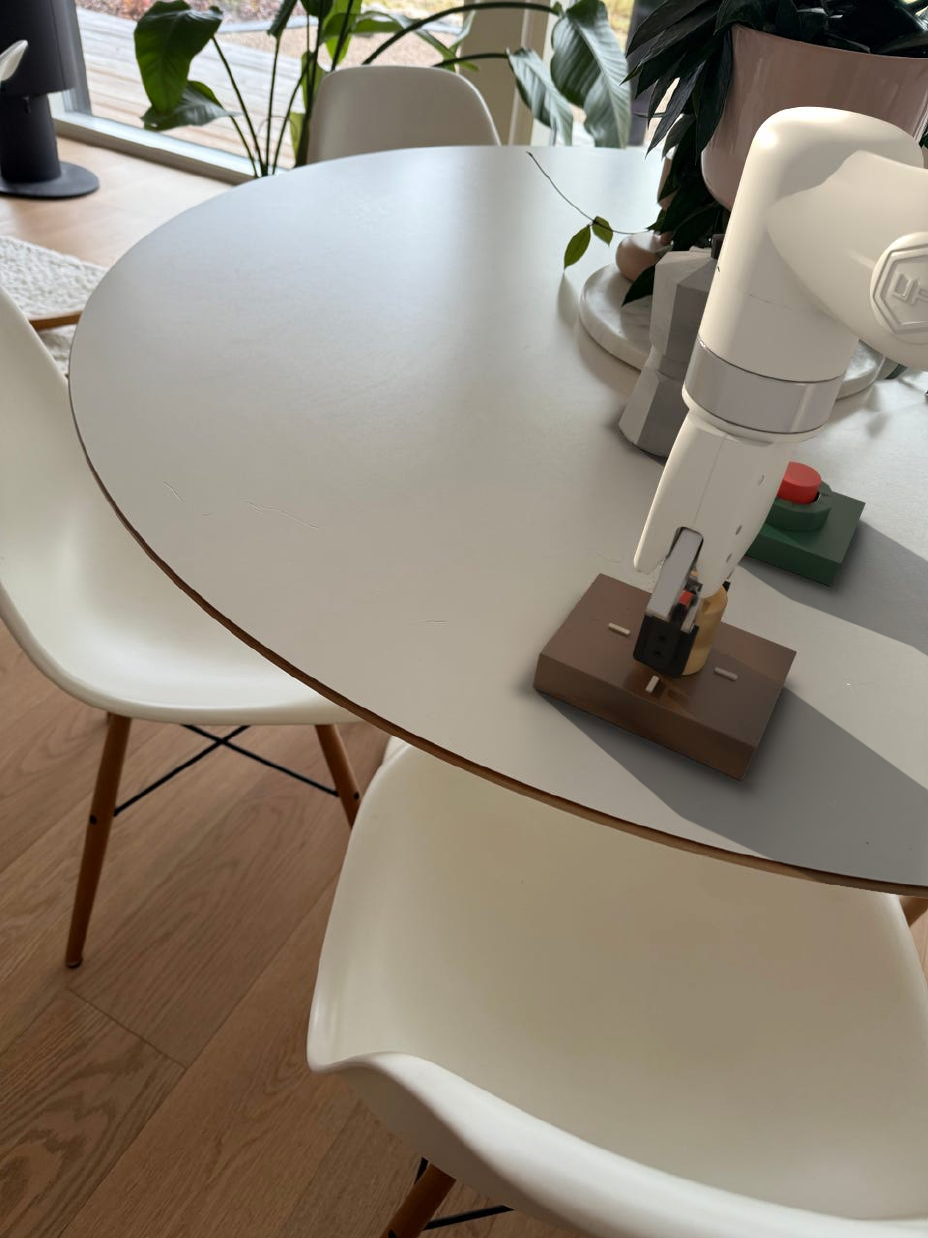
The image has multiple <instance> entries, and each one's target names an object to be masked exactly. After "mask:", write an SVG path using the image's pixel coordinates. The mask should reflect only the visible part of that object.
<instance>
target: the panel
mask: <svg viewBox="0 0 928 1238" xmlns="http://www.w3.org/2000/svg"><path fill="white" fill-rule="evenodd" d="M651 595H652V592H650V591H647V590H644V589H642V588H640V587H637V586H634V585H632V584H629V583H627V582H624V581H622V580H620V579H617V578H615V577H612V576H609V575H607V574H604V573H602V572H598V573H597V575H596V576H595V578H593V580H592V581H591V583H590V584H589V585H588V587H587V588H586V589H585V591H584V592H583V593H582V595H581V596H580V597H579V599H577V602H576V603H575V605H573V607H572V609H571V610H570V611H569V612H568V614H567V615H566V617H565V618H564V619H563V621H562V622H561V623H560V624H559V626H558V627H557V629H556V630H555V631H554V633H553V634H552V635H551V637H550V638H549V639H548V641H547V642H546V644H545V645H544V646H543V648H542V649H541V650H540V652H539V653H538V657H537V663H536V666H535V671H534V676H533V681H532V685H531V687H532V688H533V689H535V690H538V691H539V692H542V693H544V694H547V695H549V696H551V697H553V698H556V699H558V700H561V701H562V702H564V703H567V704H569V705H572V706H573V707H576V708H577V709H580V710H582V711H584V712H587V713H589V714H591V715H593V716H596V717H598V718H600V719H603V720H605V721H607V722H608V723H611V724H614V725H616V726H618V727H621V728H623V729H625V730H626V731H630V732H631V733H633V734H636V735H639V736H640V737H643V738H644V739H647V740H650V741H652V742H654V743H656V744H659V745H661V746H663V747H666V748H668V749H669V750H671V751H675V752H676V753H679V754H681V755H683V756H686V757H687V758H689V759H692V760H694V761H696V762H698V763H701V764H703V765H706V766H707V767H710V768H713V769H715V770H717V771H719V772H721V773H724V774H726V775H728V776H730V777H732V778H735V779H736V780H739V781H743V780H744V778H745V776H746V774H747V772H748V769H749V767H750V765H751V762H752V760H753V758H754V756H755V754H756V751H757V749H758V747H759V744H760V742H761V740H762V737H763V735H764V732H765V730H766V728H767V725H768V723H769V721H770V718H771V716H772V714H773V711H774V708H775V706H776V703H777V701H778V698H779V696H780V694H781V692H782V689H783V686H784V684H785V682H786V680H787V678H788V675H789V672H790V670H791V667H792V665H793V663H794V660H795V658H796V655H797V651H796V650H794V649H792V648H789V647H787V646H784V645H783V644H780V643H776V642H774V641H771V640H769V639H767V638H764V637H762V636H759V635H757V634H754V633H752V632H749V631H747V630H745V629H742V628H740V627H737V626H735V625H731V624H729V623H727V622H724V621H722V620H721V622H720V624H719V627H718V630H717V633H716V635H715V638H714V641H713V643H712V646H711V649H710V652H709V654H708V657H707V660H706V662H705V664H704V666H703V667H702V668H701V669H700V670H699V671H697V672H695V673H693V674H689V675H681V677H680V678H678V679H675V678H672V677H670V676H668V675H666V674H664V673H662V672H659V671H657V670H655V669H653V668H651V667H649V666H647V665H645V664H643V663H641V662H638V661H637V660H635V659H634V657H633V651H634V648H635V645H636V642H637V638H638V635H639V632H640V628H641V625H642V622H643V618H644V615H645V612H646V608H647V605H648V603H649V601H650V598H651Z"/></svg>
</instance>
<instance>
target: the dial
mask: <svg viewBox="0 0 928 1238" xmlns="http://www.w3.org/2000/svg"><path fill="white" fill-rule="evenodd" d="M691 575H693V576H696V577H697V572H695V571H693V570H692V572H691ZM658 577H659V575H658V576H657V577H656V578H655V582H654V586H653V589H652V591H651V593H653V590H654V588H655V585H656V582H657V579H658ZM693 595H694V594H692V593H690V592H687V591H685V590H683V591H682V594H681V596H680V599H679V602H680V603H682V604H684V605H686V607H687V610H688V607H689V605H690V602H691V600H692V597H693ZM651 596H652V595H651ZM728 602H729V596H728V592H726V590H725V589H724V587H723V586H721V587H720V588H719V590H718V591H717V592H716V593H715V594H714V595H713V596H710V597H708V598H705V600H704V603H703V605H702V608H701V610H700V613H699V615H698V618H697V620H696V623H695V625H696V626H699V627H700V628H699V631H698V633H697V636H696V639H695V642H694V645H693V648H692V650H691V653H690V656H689V659H688V662H687V665H686V667H685V670H684V673H683V674H682V675H689V674H693V673H695V672H697V671H699V670H700V669H701V668H702V667H703V666H704V664H705V662H706V660H707V657H708V654H709V652H710V649H711V646H712V643H713V641H714V638H715V635H716V633H717V630H718V627H719V624H720V622H721V621H722V619H723V616H724V613H725V611H726V608H727V605H728Z"/></svg>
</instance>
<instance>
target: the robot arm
mask: <svg viewBox="0 0 928 1238" xmlns="http://www.w3.org/2000/svg"><path fill="white" fill-rule="evenodd" d="M924 160H925V158H924V156H923V151H922V148H921V146H920V144H919V143H918V141H917V140H916V138H914V136H912V135H911V134H909V133H908V132H907V131H905V130H903V129H902V128H901V127H899V126H897V125H895V124H892V123H890V122H888V121H885V120H883V119H879V118H876V117H873V116H869V115H866V114H863V113H858V112H853V111H849V110H843V109H836V108H831V107H822V106H821V107H818V106H800V107H793V108H788V109H783V110H780V111H778V112H776V113H775V114H772V115H771V116H770V117H769V118H768V119H766V120H765V121H764V122H763V123H762V124H761V126H760V127H759V128H758V130H757V131H756V133H755V135H754V137H753V139H752V142H751V145H750V147H749V150H748V153H747V157H746V160H745V163H744V165H743V166H744V167H743V170H742V173H741V177H740V181H739V185H738V188H737V191H736V195H735V199H734V202H733V205H732V209H731V213H730V217H729V220H728V224H727V227H726V230H725V234H724V235H725V238H724V241H723V245H722V248H721V252H720V256H719V259H718V263H717V266H716V270H715V274H714V277H713V281H712V285H711V288H710V292H709V296H708V299H707V303H706V307H705V310H704V314H703V317H702V321H701V325H700V328H699V331H698V334H697V338H696V341H695V345H694V348H693V352H692V356H691V359H690V363H689V366H688V370H687V373H686V377H685V381H684V385H683V388H682V397H683V399H684V402H685V403H686V405H687V406H688V407H689V409H690V410H689V412H688V414H687V416H686V418H685V420H684V423H683V425H682V427H681V429H680V431H679V434H678V436H677V438H676V441H675V443H674V445H673V448H672V450H671V453H670V455H669V458H667V461H666V463H665V465H664V469H663V472H662V474H661V476H660V477H661V478H660V480H659V483H658V486H657V489H656V490H655V491H656V492H655V494H654V497H653V500H652V503H651V506H650V509H649V512H648V514H647V518H646V521H645V524H644V527H643V530H642V533H641V537H640V539H639V542H638V545H637V549H636V551H635V554H634V558H633V565H634V569H635V570H636V572H638V573H643V574H645V575H647V576H649V575H650V574H651V573H653V571H654V570H655V569H656V568H657V567H658V566H659V565H660V564H661V562H662V561H663V563H662V566H661V569H660V572H659V574H658V576H659V577H658V576H657V578H658V579H657V578H656V579H657V582H656V581H655V582H656V585H655V584H654V585H655V588H654V587H653V589H654V590H653V589H652V592H653V593H652V592H651V593H652V596H651V598H650V601H649V603H648V605H647V608H646V612H645V615H644V618H643V622H642V625H641V628H640V632H639V635H638V638H637V642H636V645H635V648H634V651H633V657H634V659H635V660H637V661H638V662H641V663H643V664H645V665H647V666H649V667H651V668H653V669H655V670H657V671H659V672H662V673H664V674H666V675H668V676H670V677H672V678H675V679H678V678H680V677H681V675H682V674H683V673H684V670H685V667H686V665H687V662H688V659H689V656H690V653H691V650H692V648H693V645H694V642H695V639H696V636H697V633H698V631H699V628H700V627H699V626H696V625H695V623H696V620H697V618H698V615H699V613H700V610H701V608H702V605H703V603H704V600H705V598H708V597H710V596H713V595H714V594H715V593H716V592H717V591H718V590H719V588H720V587H721V586H723V587H724V589H725V590H726V592H727V593H728V592H729V589H730V587H731V584H732V582H730V581H728V580H730V578H731V576H732V575H733V572H734V571H735V568H736V567H737V565H738V564H739V563H740V561H741V560H742V559H743V557H744V555H746V554H745V553H746V551H747V550H748V548H749V547H750V545H751V544H752V542H753V541H754V539H755V538H756V536H757V535H758V533H759V531H760V529H761V527H762V526H763V524H764V522H765V520H766V517H767V515H768V513H769V511H770V509H771V506H772V504H773V502H774V500H775V497H776V495H777V492H778V490H779V487H780V485H781V482H782V480H783V477H784V474H785V472H786V469H787V466H788V464H789V462H791V461H790V460H791V458H792V455H793V452H794V449H795V446H796V444H797V443H802V442H803V443H804V442H806V441H808V440H812V439H814V438H816V437H818V436H819V435H821V433H822V432H823V431H824V430H825V428H826V426H827V423H828V420H829V418H830V415H831V413H832V410H833V407H834V404H835V403H836V400H837V397H838V395H839V392H840V390H841V387H842V385H843V382H844V380H845V377H846V374H847V372H848V368H849V366H850V364H851V361H852V359H853V356H854V353H855V351H856V348H857V346H858V343H859V341H862V342H863V343H865V344H866V345H867V346H869V347H870V348H872V349H873V350H875V351H876V352H878V353H879V354H881V355H882V356H884V357H885V358H887V359H889V360H891V361H893V362H895V363H897V364H899V365H902V366H904V367H907V368H910V369H912V370H915V371H920V372H925V373H928V169H927V168H925V167H924V166H925V164H924V163H925V162H924ZM692 570H693V571H695V572H697V577H696V576H693V575H691V572H692ZM683 590H685V591H687V592H690V593H692V594H694V595H693V597H692V600H691V602H690V605H689V607H688V610H687V607H686V605H684V604H682V603H680V602H679V599H680V596H681V594H682V591H683Z"/></svg>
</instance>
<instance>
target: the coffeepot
mask: <svg viewBox="0 0 928 1238" xmlns="http://www.w3.org/2000/svg"><path fill="white" fill-rule="evenodd" d="M724 238H725V234H724V233H719V234H717V233H714V234H713V235H712V238H711V247H704V248H700V247H698V246H696V245H692V246H691V247H690V248H689V250H685V251H684V250H681V251H667V252H666V253H665V254H664V256H663V257H662V258H661V259H660V260H659V261H657V263H656V264H655V267H654V268H655V270H654V279H653V280H654V281H653V291H652V300H651V301H652V303H651V311H650V312H651V313H650V324H649V334H648V341H649V342H650V344H651V348H650V353H649V356H648V358H647V359H646V361H645V363H644V365H643V367H642V369H641V372H640V374H639V376H638V379H637V380H636V382H635V385H634V387H633V390H632V392H631V394H630V397H629V399H628V401H627V403H626V406H625V408H624V411H623V413H622V414H621V417H620V419H619V422H618V426H619V429H620V430H621V432H622V434H623V435H624V437H625V438H626V439H627V440H628V441H629V442H630V443H631V444H633V445H634V446H636V447H637V448H638V449H641V450H643V451H645V452H647V453H650V454H652V455H655V456H658V457H662V458H667V459H668V458H669V455H670V453H671V450H672V448H673V445H674V443H675V441H676V438H677V436H678V434H679V431H680V429H681V427H682V425H683V423H684V420H685V418H686V416H687V414H688V412H689V410H690V409H689V407H688V406H687V405H686V403H685V402H684V399H683V397H682V388H683V385H684V381H685V377H686V373H687V370H688V366H689V363H690V359H691V356H692V352H693V348H694V345H695V341H696V338H697V334H698V331H699V328H700V325H701V321H702V317H703V314H704V310H705V307H706V303H707V299H708V296H709V292H710V288H711V285H712V281H713V277H714V274H715V270H716V266H717V263H718V259H719V256H720V252H721V248H722V245H723V241H724Z"/></svg>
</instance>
